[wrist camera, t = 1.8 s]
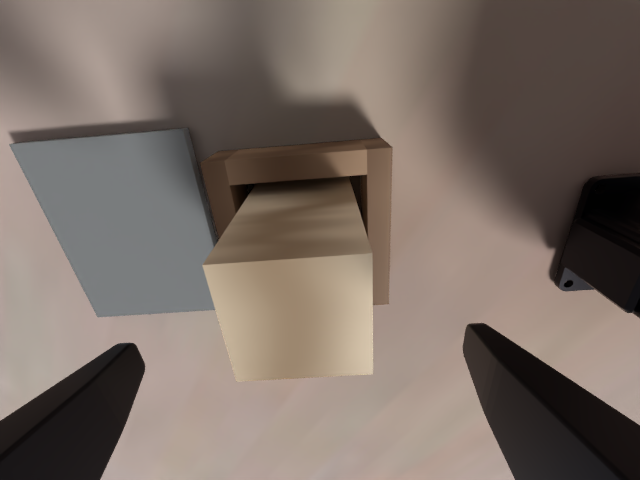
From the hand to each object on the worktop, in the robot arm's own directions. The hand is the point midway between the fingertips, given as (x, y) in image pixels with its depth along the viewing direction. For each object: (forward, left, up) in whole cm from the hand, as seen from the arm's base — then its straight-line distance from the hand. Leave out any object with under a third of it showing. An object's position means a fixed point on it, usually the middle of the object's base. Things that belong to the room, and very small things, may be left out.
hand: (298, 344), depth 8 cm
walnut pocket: (0, 0, -9) cm, 9 cm away
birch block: (0, 0, -9) cm, 9 cm away
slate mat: (+9, 0, -9) cm, 13 cm away
